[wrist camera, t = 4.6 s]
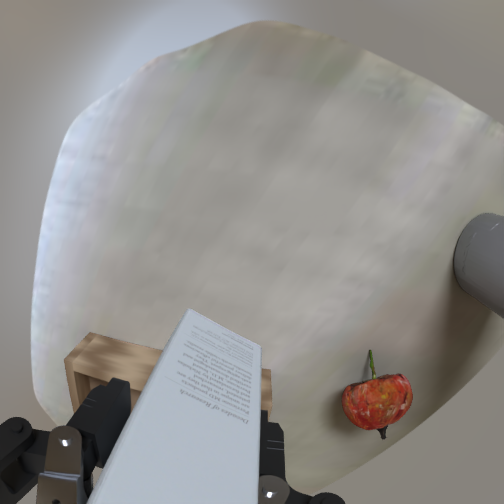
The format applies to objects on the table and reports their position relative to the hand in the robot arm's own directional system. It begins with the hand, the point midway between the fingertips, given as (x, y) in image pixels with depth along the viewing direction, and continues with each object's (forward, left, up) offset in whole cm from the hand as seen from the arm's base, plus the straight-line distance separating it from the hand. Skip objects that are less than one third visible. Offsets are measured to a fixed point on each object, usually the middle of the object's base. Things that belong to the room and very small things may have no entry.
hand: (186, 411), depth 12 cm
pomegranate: (-17, +9, -18) cm, 26 cm away
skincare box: (0, 0, -4) cm, 4 cm away
